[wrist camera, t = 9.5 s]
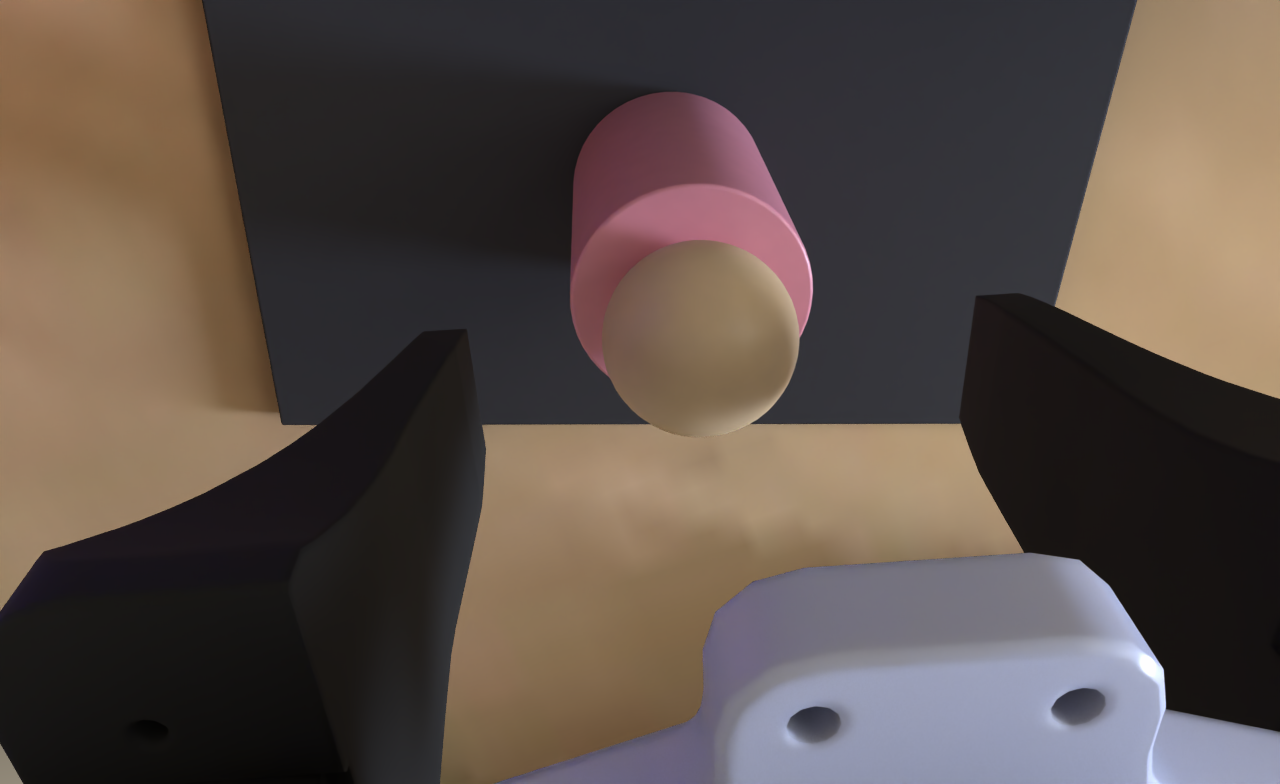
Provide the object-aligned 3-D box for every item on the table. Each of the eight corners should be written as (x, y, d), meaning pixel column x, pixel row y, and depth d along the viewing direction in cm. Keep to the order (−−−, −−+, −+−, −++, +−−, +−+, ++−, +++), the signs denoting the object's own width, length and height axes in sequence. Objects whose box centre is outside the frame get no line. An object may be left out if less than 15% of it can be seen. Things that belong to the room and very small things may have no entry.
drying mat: (1157, -123, 19) (1171, -122, 18) (1016, 413, 25) (1023, 424, 25) (182, -152, 18) (172, -149, 17) (286, 414, 24) (281, 426, 24)
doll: (764, 84, 20) (862, 247, 13) (761, 267, 22) (844, 494, 15) (565, 97, 20) (554, 267, 13) (581, 279, 22) (579, 512, 15)
